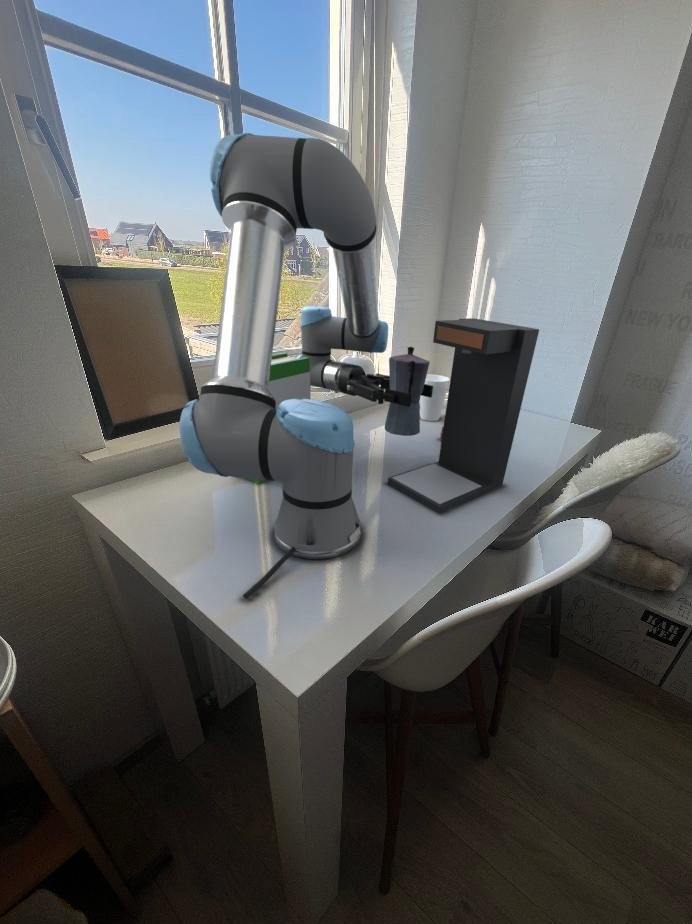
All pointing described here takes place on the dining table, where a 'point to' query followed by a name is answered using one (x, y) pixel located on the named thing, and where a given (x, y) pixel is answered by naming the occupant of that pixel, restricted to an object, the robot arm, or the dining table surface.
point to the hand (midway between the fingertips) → (421, 396)
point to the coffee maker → (475, 412)
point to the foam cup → (434, 397)
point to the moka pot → (408, 379)
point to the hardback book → (288, 380)
